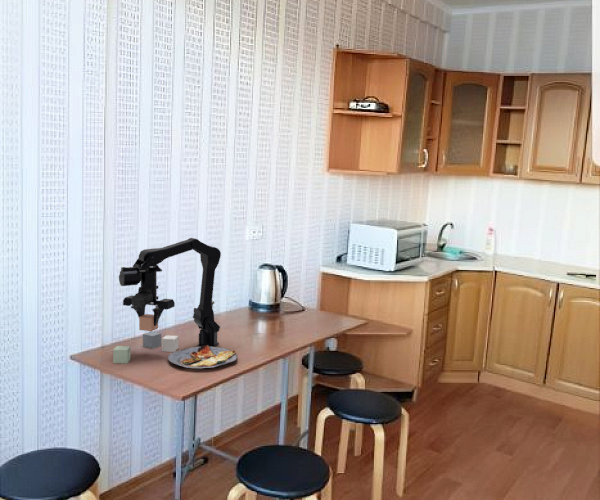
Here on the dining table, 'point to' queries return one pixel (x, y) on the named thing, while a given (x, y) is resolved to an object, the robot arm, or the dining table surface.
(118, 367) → the dining table surface
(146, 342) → the slate-grey block
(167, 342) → the off-white block
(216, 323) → the robot arm
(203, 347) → the food plate
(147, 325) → the terracotta block
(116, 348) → the sage-green block
